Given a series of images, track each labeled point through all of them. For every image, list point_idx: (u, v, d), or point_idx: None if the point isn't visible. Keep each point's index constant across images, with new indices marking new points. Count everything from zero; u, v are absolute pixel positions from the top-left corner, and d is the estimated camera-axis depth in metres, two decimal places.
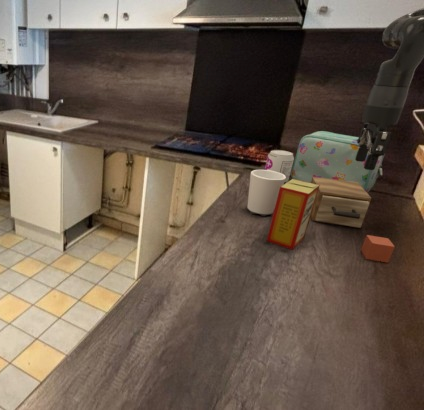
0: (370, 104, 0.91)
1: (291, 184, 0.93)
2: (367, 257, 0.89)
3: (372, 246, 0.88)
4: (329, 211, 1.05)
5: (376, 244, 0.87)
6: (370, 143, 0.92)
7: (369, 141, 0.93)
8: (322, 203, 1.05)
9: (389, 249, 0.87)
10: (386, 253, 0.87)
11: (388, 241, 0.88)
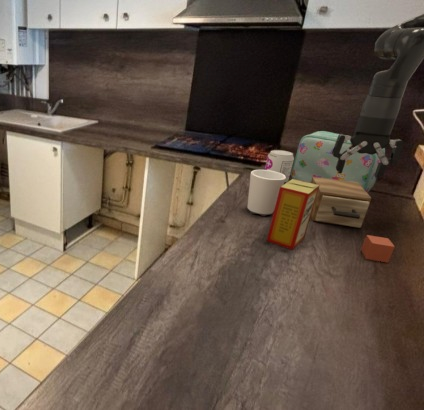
0: (389, 117, 0.88)
1: (291, 184, 0.93)
2: (367, 257, 0.89)
3: (372, 246, 0.88)
4: (329, 211, 1.05)
5: (376, 244, 0.87)
6: None
7: (383, 152, 0.93)
8: (322, 203, 1.05)
9: (389, 249, 0.87)
10: (386, 253, 0.87)
11: (388, 241, 0.88)
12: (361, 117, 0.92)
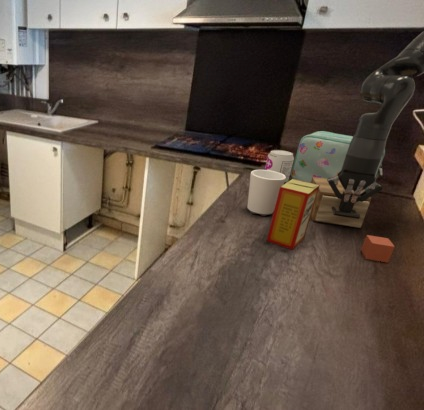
0: (374, 158, 0.91)
1: (291, 184, 0.93)
2: (367, 257, 0.89)
3: (372, 246, 0.88)
4: (329, 211, 1.05)
5: (376, 244, 0.87)
6: None
7: (360, 191, 0.97)
8: (322, 203, 1.05)
9: (389, 249, 0.87)
10: (386, 253, 0.87)
11: (388, 241, 0.88)
12: (348, 156, 0.95)
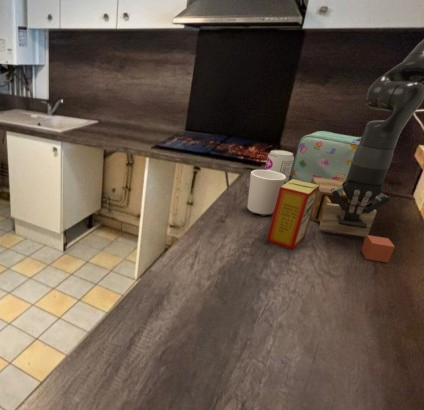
0: (381, 168, 0.87)
1: (291, 184, 0.93)
2: (367, 257, 0.89)
3: (372, 246, 0.88)
4: (333, 220, 1.00)
5: (376, 244, 0.87)
6: None
7: (366, 203, 0.92)
8: (326, 211, 1.00)
9: (389, 249, 0.87)
10: (386, 253, 0.87)
11: (388, 241, 0.88)
12: (353, 166, 0.90)
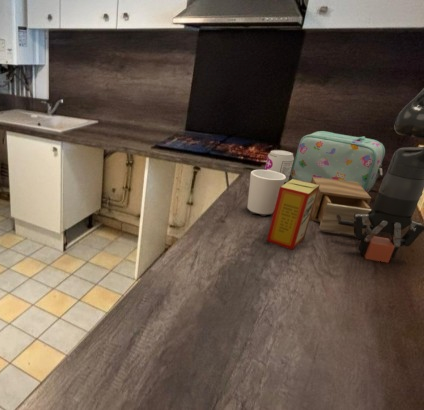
0: (412, 199, 0.80)
1: (291, 184, 0.93)
2: (367, 257, 0.89)
3: (372, 246, 0.88)
4: (333, 220, 1.00)
5: (376, 244, 0.87)
6: None
7: (400, 234, 0.85)
8: (326, 212, 1.00)
9: (389, 249, 0.87)
10: (386, 253, 0.87)
11: (388, 241, 0.88)
12: (381, 195, 0.84)
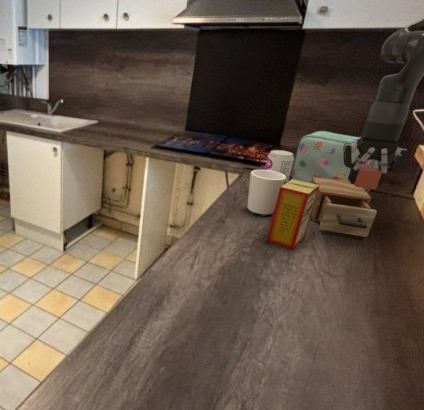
0: (398, 123, 0.85)
1: (291, 184, 0.93)
2: (356, 185, 0.94)
3: (361, 174, 0.93)
4: (333, 220, 1.00)
5: (365, 171, 0.92)
6: None
7: (386, 160, 0.90)
8: (326, 212, 1.00)
9: (377, 175, 0.92)
10: (374, 179, 0.92)
11: (376, 169, 0.93)
12: (368, 122, 0.89)
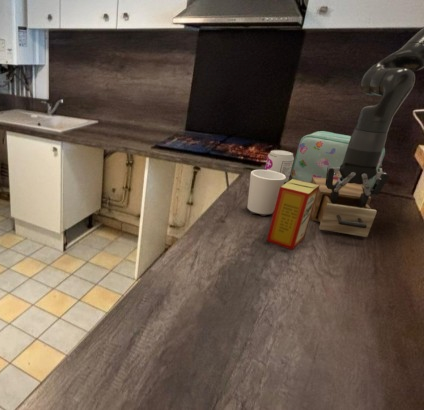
0: (376, 150, 0.92)
1: (291, 184, 0.93)
2: None
3: None
4: (333, 220, 1.00)
5: None
6: None
7: (368, 183, 0.96)
8: (326, 211, 1.00)
9: None
10: None
11: None
12: (349, 149, 0.96)
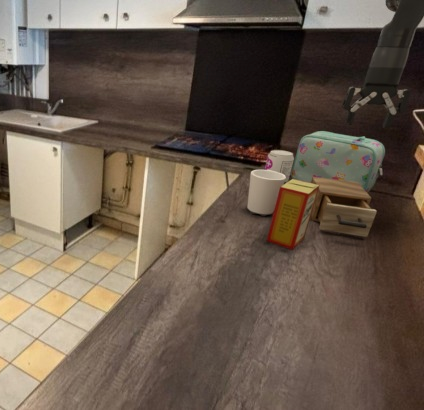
0: (398, 66, 0.93)
1: (291, 184, 0.93)
2: None
3: None
4: (333, 220, 1.00)
5: None
6: None
7: (391, 102, 0.97)
8: (326, 211, 1.00)
9: None
10: None
11: None
12: (371, 68, 0.97)
